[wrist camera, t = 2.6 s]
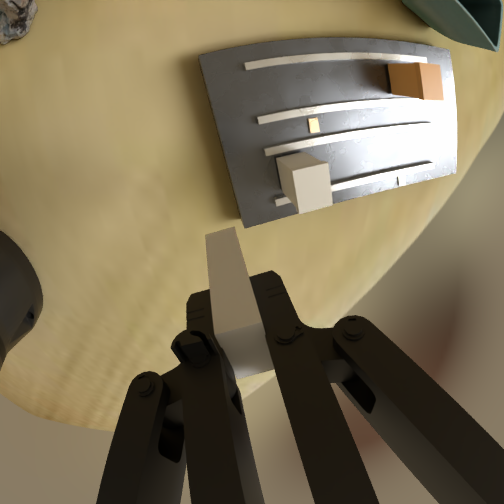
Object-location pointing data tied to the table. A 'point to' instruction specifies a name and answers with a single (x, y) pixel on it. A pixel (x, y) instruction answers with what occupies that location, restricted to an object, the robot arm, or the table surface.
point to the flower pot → (463, 20)
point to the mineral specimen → (15, 18)
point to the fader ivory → (305, 181)
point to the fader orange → (416, 80)
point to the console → (326, 117)
